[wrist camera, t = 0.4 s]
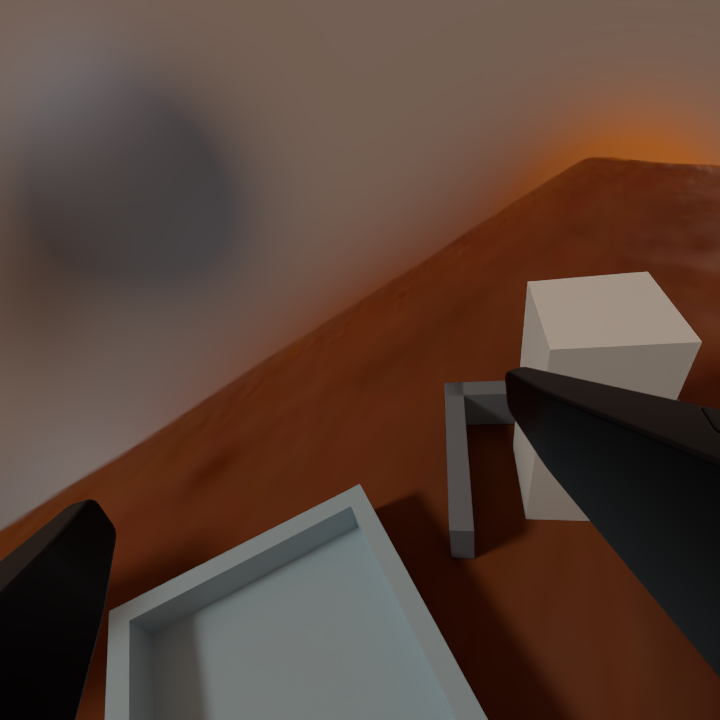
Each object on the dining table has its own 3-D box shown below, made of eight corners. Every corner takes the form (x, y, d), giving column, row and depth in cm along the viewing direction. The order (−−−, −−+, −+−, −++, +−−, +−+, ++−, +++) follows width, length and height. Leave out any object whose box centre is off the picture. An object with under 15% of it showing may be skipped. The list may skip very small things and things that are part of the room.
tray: (529, 815, 15) (536, 809, 13) (146, 1111, 12) (87, 1156, 10) (368, 511, 26) (359, 484, 24) (139, 631, 23) (109, 611, 21)
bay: (738, 571, 20) (765, 541, 18) (451, 557, 23) (449, 530, 21) (651, 407, 28) (664, 374, 26) (446, 412, 31) (444, 383, 29)
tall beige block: (623, 521, 23) (701, 341, 15) (525, 519, 24) (550, 349, 16) (591, 433, 27) (638, 259, 19) (510, 434, 28) (523, 270, 20)
